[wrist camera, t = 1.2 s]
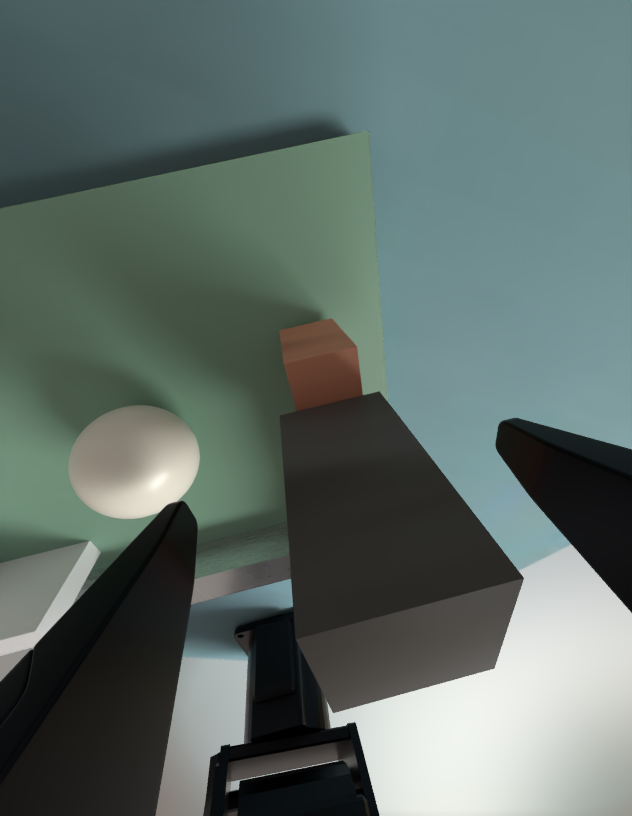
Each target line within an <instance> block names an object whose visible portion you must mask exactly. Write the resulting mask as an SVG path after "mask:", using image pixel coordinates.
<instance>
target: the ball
mask: <svg viewBox="0 0 632 816" xmlns="http://www.w3.org/2000/svg"><path fill="white" fill-rule="evenodd" d="M199 462H200V451H199V446H198V442H197V439H196V437H195V435H194V433H193V432H192V430H191V428H190V427H189V426H188V425H187V424H186V423H185V422H184V421H183V420H182V419H181V418H180V417H178V416H177V415H175V414H173V413H171V412H169V411H167V410H164V409H162V408H158V407H154V406H148V405H135V406H126V407H122V408H118V409H115V410H112V411H110V412H107V413H105V414H103V415H102V416H100V417H98V418H97V419H95V420H94V421H93V422H91V423H90V424H89V425H88V426H87V427H86V428H85V429H84V430H83V431H82V432H81V434H80V435H79V436H78V438H77V439H76V441H75V443H74V445H73V447H72V449H71V453H70V457H69V461H68V473H69V479H70V482H71V485H72V488H73V489H74V491H75V493H76V494H77V496H78V497H79V499H80V500H81V501H82V502H83V503H85V504H86V505H87V506H88V507H90V508H91V509H93V510H94V511H96V512H98V513H100V514H103V515H105V516H109V517H113V518H119V519H136V518H143V517H147V516H150V515H153V514H156V513H159V512H160V511H161V510H162V509H163V508H164V507H165V506H166V505H167V504H170V503H173V502H177V501H178V500H179V499H180V498H181V497H182V496H183V495H184V494H185V493H186V492H187V491H188V489H189V488H190V486H191V485H192V483H193V481H194V479H195V477H196V475H197V472H198V468H199Z"/></svg>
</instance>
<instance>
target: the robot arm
mask: <svg viewBox="0 0 632 816" xmlns="http://www.w3.org/2000/svg"><path fill="white" fill-rule="evenodd" d="M496 449H497V451H498V453H499V454H500V456H501V457H502V459H503V460H504V461H505V463H506V464H507V466H508V467H509V468H510V470H511V471H512V473H513V474H514V475H515V477H516V478H517V479H518V481H519V482H520V484H521V485H522V486H523V488H524V489H525V491H526V492H527V493H528V494H529V496H530V497H531V498H532V499H533V501H534V502H535V503H536V504H537V505H538V507H539V508H540V509H541V510H542V511H543V512H544V513H545V515H546V516H547V517H548V518H549V519H550V520H551V521H552V523H553V524H554V525H555V526H556V527H557V528H558V529H559V531H560V532H561V533H562V534H563V535H564V536H565V537H566V538H567V540H568V541H569V542H570V543H571V544H572V545H573V546H574V548H575V549H577V551H578V552H579V553H580V554H581V556H582V557H583V558H584V559H585V560H586V561H587V562H588V564H589V565H590V566H591V567H592V568H593V569H594V570H595V572H596V573H597V574H598V575H599V576H600V577H601V578H602V580H603V581H604V582H605V583H606V584H607V585H608V586H609V587H610V589H611V590H612V591H613V592H614V593H615V594H616V595H617V597H618V598H619V599H620V600H621V601H622V602H623V603H624V604H625V606H626V607H627V608H628V609H629V610H630V611H631V613H632V449H628V448H624V447H621V446H617V445H613V444H610V443H606V442H603V441H599V440H595V439H592V438H588V437H584V436H581V435H577V434H573V433H570V432H566V431H563V430H559V429H555V428H552V427H548V426H544V425H541V424H537V423H533V422H530V421H526V420H522V419H519V418H512V419H508V420H504V421H501V422H500V424H499V426H498V432H497V438H496ZM197 534H198V524H197V520H196V518H195V516H194V515H193V513H192V511H191V510H190V508H189V507H188V505H187V503H186V502H185V501H177V502H173V503H170V504H167V505H166V506H165V507H164V508H163V509H162V510H161V511H160V512H159V514H158V515H157V516H156V517H155V518H154V519H153V520H152V521H151V522H150V523H149V524H148V525H147V526H146V527H145V528H144V530H143V531H142V532H141V533H140V534H139V535H138V536H137V537H136V538H135V539H134V540H133V541H132V542H131V543H130V544H129V545H128V547H127V548H126V549H125V550H124V551H123V552H122V553H121V554H120V555H119V556H118V557H117V558H116V559H115V560H114V561H113V563H112V564H111V565H110V566H109V567H108V568H107V569H106V570H105V571H104V572H103V573H102V574H101V575H100V576H99V577H98V579H97V580H96V581H95V582H94V583H93V584H92V585H91V586H90V587H89V588H88V589H87V590H86V591H85V592H84V593H83V594H82V596H81V597H80V598H79V599H78V600H77V601H76V602H75V603H74V604H73V605H72V606H71V607H70V608H69V609H68V610H67V612H66V613H65V614H64V615H63V616H62V617H61V618H60V619H59V620H58V621H57V622H56V623H55V624H54V625H53V626H52V627H51V629H50V630H49V631H48V632H47V633H46V634H45V635H44V636H43V637H42V638H41V639H40V640H39V641H38V642H37V643H36V644H35V646H34V649H33V650H30V651H29V652H28V653H27V654H26V655H25V656H24V657H23V658H22V659H21V660H20V661H19V663H18V664H17V665H16V666H15V667H14V668H13V669H12V670H11V671H10V672H9V673H8V674H7V675H6V676H5V677H4V678H3V679H2V680H1V681H0V816H155V815H156V809H157V803H158V796H159V791H160V785H161V779H162V773H163V767H164V761H165V755H166V749H167V744H168V738H169V731H170V725H171V720H172V714H173V708H174V702H175V696H176V690H177V684H178V678H179V672H180V666H181V660H182V655H183V649H184V643H185V637H186V631H187V625H188V619H189V613H190V607H191V601H192V595H193V588H194V580H195V566H196V550H197ZM234 638H235V639H236V641H237V642H238V643H239V645H240V646H241V647H242V649H243V650H244V651H245V653H246V654H247V655H248V670H247V691H246V713H245V714H246V715H245V734H244V744H241V745H236V746H230V744H229V745H224V746H221V751H220V753H218V754H216V755H214V756H212V757H211V758H210V767H209V777H208V785H207V794H206V802H205V808H204V815H203V816H379V812H378V809H377V804H376V801H375V797H374V793H373V789H372V785H371V781H370V777H369V773H368V769H367V765H366V761H365V758H364V754H363V750H362V746H361V742H360V738H359V734H358V730H357V726H356V723H355V722H354V723H348V724H347V725H346V726H343V727H337V728H331V729H330V721H329V713H328V706H327V700H326V698H325V696H324V694H323V692H322V690H321V688H320V686H319V684H318V682H317V680H316V678H315V676H314V674H313V672H312V670H311V668H310V666H309V665H308V663H307V661H306V659H305V657H304V655H303V653H302V651H301V649H300V647H299V645H298V643H297V641H296V638H295V624H294V613H291V614H287V615H284V616H280V617H276V618H272V619H269V620H265V621H261V622H257V623H253V624H250V625H246V626H242V627H239V628H236V629H235V631H234ZM336 760H339V761H338V762H332V761H336ZM327 762H332V763H327ZM322 763H327V764H322ZM316 764H322V765H317V766H313V767H307V766H312V765H316ZM302 767H307V768H302ZM296 768H302V769H297V770H292V771H287V772H283V773H277V774H272V775H267V776H263V777H257V778H252V779H248V780H242V781H240V784H239V790H234V791H230V784H231V781H236V780H241V779H246V778H251V777H256V776H261V775H266V774H271V773H276V772H281V771H286V770H291V769H296Z"/></svg>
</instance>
